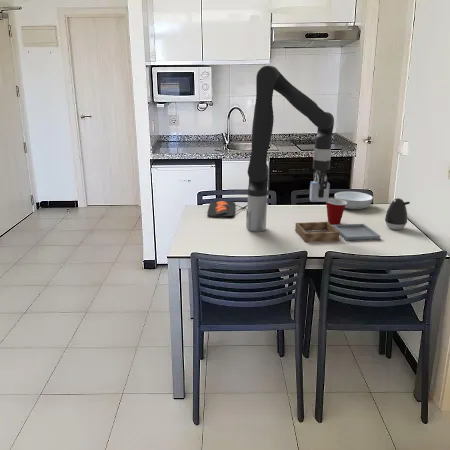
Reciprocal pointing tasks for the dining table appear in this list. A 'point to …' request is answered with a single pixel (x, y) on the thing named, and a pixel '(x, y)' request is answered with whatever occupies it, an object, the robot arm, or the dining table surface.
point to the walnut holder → (318, 236)
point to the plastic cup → (335, 210)
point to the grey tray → (356, 232)
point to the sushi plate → (222, 208)
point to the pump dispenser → (396, 214)
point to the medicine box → (315, 191)
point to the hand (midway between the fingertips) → (319, 195)
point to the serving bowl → (354, 199)
